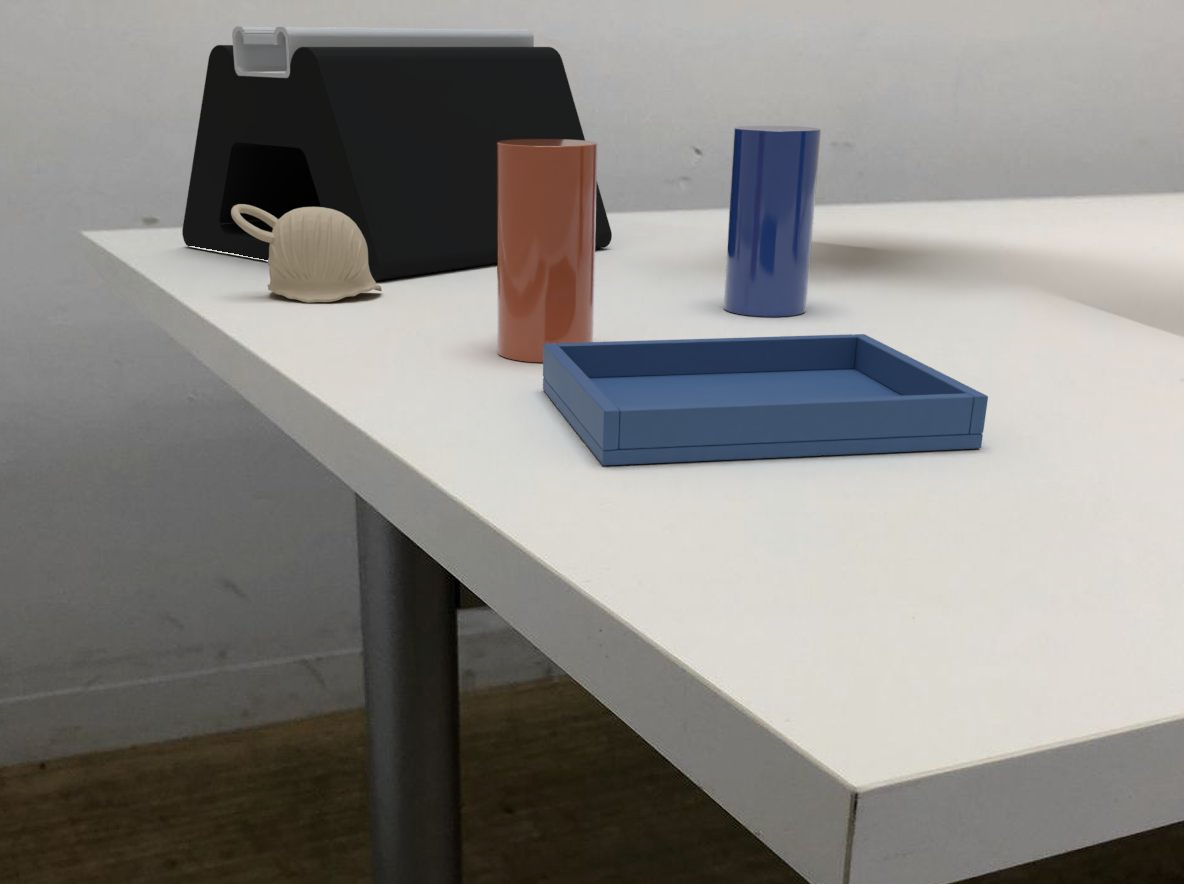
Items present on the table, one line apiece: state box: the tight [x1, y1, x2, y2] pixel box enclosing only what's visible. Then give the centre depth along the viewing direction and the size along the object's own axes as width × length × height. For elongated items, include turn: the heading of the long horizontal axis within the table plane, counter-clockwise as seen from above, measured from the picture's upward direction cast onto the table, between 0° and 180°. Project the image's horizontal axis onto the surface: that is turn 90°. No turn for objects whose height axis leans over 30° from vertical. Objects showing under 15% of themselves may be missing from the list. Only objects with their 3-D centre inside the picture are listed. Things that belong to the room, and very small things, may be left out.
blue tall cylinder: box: [723, 125, 822, 318], centre depth 80 cm, size 5×5×10 cm
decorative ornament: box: [231, 204, 382, 303], centre depth 83 cm, size 4×8×5 cm, turn 84°
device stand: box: [181, 26, 613, 282], centre depth 101 cm, size 22×22×15 cm
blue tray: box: [542, 333, 989, 466], centre depth 58 cm, size 15×12×2 cm
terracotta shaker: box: [496, 139, 598, 364], centre depth 68 cm, size 5×5×10 cm
